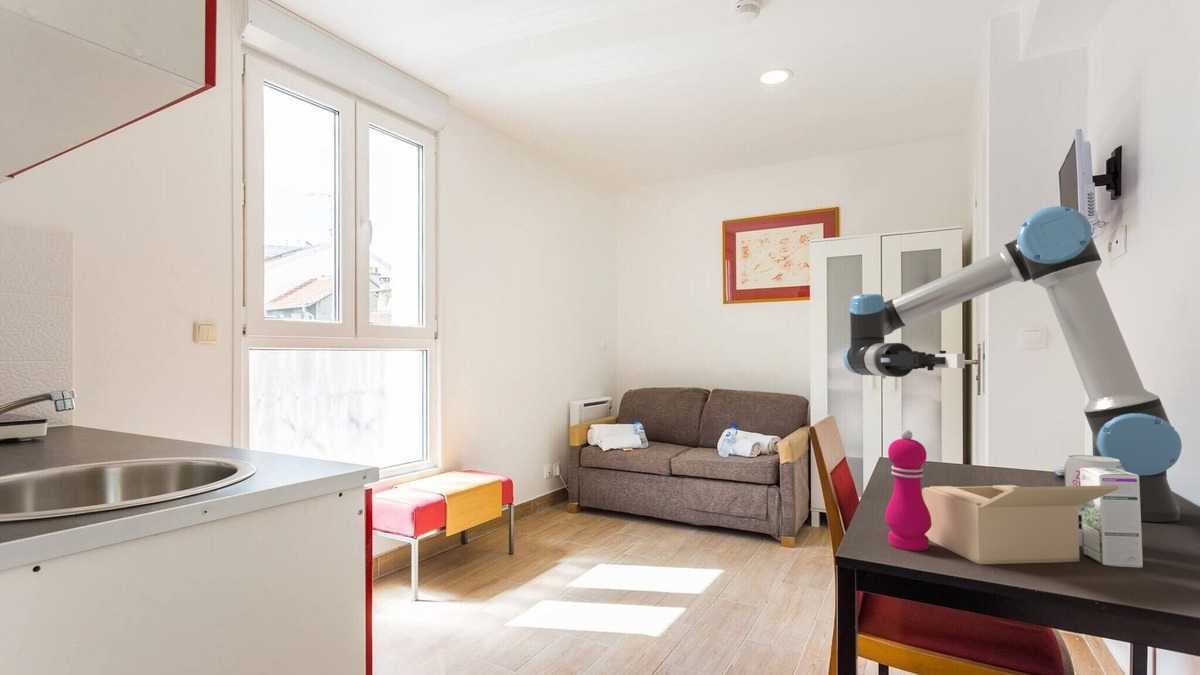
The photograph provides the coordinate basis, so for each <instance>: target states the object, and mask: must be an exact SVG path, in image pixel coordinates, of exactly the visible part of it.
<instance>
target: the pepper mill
mask: <svg viewBox="0 0 1200 675" xmlns="http://www.w3.org/2000/svg"><path fill="white" fill-rule="evenodd" d="M900 436H901V438H899V439H896V440H893V441H892V442H891V443H890V445H889V447H888V448H887V449H888V450H887V455H888V459H889V460H890V461H891V462H892V466H891V474H892V475H893V476H894V477H893V478H894V483H893V485H894V487H893V488H894V489H893V493H892V495H891V497H890V499H889V502H888V504H887V507H886V509H885V514H884V520H885V523H886V525H887V526H888V527H889V529H890V531H889V532H888V536H887V537H888V540H887V541H888V544H889V545H890V546H892V547H894V548H896V549H900V550H906V551H914V552H920V551H921V552H922V551H926V550H928V549H929V547H930V544H929V543H930V542H929V541H930V540H929V538H928V537H927V536H926V535H925V533H926V532H927V531H928V530H929V529H930V528H931V525H932V523H931V516H930V513H929V510H928V508H927V506H926V504H925V502H924V499H923V497H922V488H921V481H922V478H923V477H924V473H923V472H924V468H923V467H922V466H923V464H924V463H925V462H926V461H927V451H926V448H925V446H924V445H923V444H922V443H921V442H919V441H918V440H915V439H912V438H913V433H912V431H911V430H908V429H904V430H902V431H901V434H900Z"/></svg>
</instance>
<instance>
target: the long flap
mask: <svg viewBox="0 0 1200 675" xmlns="http://www.w3.org/2000/svg"><path fill="white" fill-rule="evenodd" d="M1118 489H1119V487H1118V485H1112V486H1065V485H1064V486H1061V485H1060V486H1058V485H1056V486H1054V485H1053V486H1018V487H1012V488H1010V489H1008V490H1006V491H1005V492H1003V493H1001V494H999V495H997V496H995V497H993V498H991V499H990V500H988V501H986V502H984V503H982V504H980V505H981V507H982V508H985V507H1036V506H1080V505H1083V504H1085V503H1087V502H1090V501H1092V500H1094V499H1097V498H1099V497H1101V496H1104V495H1106V494H1108V493H1111V492H1113V491H1115V490H1118Z"/></svg>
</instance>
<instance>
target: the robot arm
mask: <svg viewBox="0 0 1200 675" xmlns="http://www.w3.org/2000/svg"><path fill="white" fill-rule="evenodd" d="M1092 233H1093V232H1092V226H1091V223H1090V221H1089V219H1088V218H1087V217H1086V216H1085V215H1084V214H1082V213H1081V212H1080V211H1078V210H1077V209H1074V208H1071V207H1068V206H1060V205H1059V206H1049V207H1045V208H1041V209H1039V210H1037V211H1035V212H1034V213H1031V215H1029V216H1028V217H1027V218H1026V219H1025V220H1024V222H1022V224H1021V226H1020V227H1019V229H1018V231H1017V236H1016V239H1014V240H1012V241H1010V242H1008V243H1005V244H1003V245H1002V247H1001V249H1000V250H999V251H998V252H996V253H994V254H991V255H989V256H986V257H984V258H981V259H980V260H978V261H975V262H974V263H970V264H968V265H967V266H964V267H961V268H959V269H957V270H954V271H953V272H950V273H949V274H946V275H943V276H941V277H939V278H937V279H935V280H932V281H930V282H927V283H925V284H923V285H920V286H919V287H916V288H913V289H911V290H910V291H907V292H905V293H903V294H901V295H898V296H896V297H893V298H892V299H888V300H887V301H886V300H885V298H884V296H883V295H882V294H878V293H877V294H876V293H869V294H868V293H867V294H866V293H864V294H863V293H862V294H855V295H853V296H851V298H850V302H849V303H850V304H849V305H850V307H849V312H850V313H849V314H850V315H849V318H850V341H849V342H850V346H849V347H847V348H846V349H845V351H844V354H843V357H842V358H843V364H844V365H845V368H846V369H847V370H848V371H849V372H850V373H853V374H858V375H861V376H875V377H876V376H878V377H880V378H881V379H886V377H890V378H891V377H892V378H893V377H894V378H902V377H905V376H908V375H909V374H910V373H912V371H913V370H919V369H927V371H934V368H940V369H942V368H943V369H944V368H945V369H966V368H965V367H966V363H965V362H966V361H965V355H966V354H965V353H947V351H946V350H939V353H934V354H932V353H926V352H925V351H918V350H913V349H912V348H911V347H910V346H908V345H907V344H905V343H900V342H885V340H886V338H885V336H887V335H888V336H889V335H890V334H892V333H894V331H896V330H898V329H901V328H904V327H905V326H907V325H910V324H913V323H914V322H918V321H920V320H922V319H925V318H928V317H930V316H933V315H935V314H938V313H940V312H942V311H944V310H947V309H949V308H952V307H955V306H957V305H959V304H961V303H965V302H966V301H970V300H971V299H974V298H977V297H979V296H981V295H984V294H986V293H989V292H991V291H994V290H997V289H999V288H1001V287H1003V286H1006V285H1008V284H1011V283H1014V282H1020V283H1026V282H1028V281H1030V280H1032V282H1033V283H1034V284H1035V285H1037V286H1041V287H1043V288H1044V289H1045V291H1046V293H1047V296H1048V297H1047V298H1049V301H1050V304H1051V307H1052V310H1053V312H1054V314H1055V317H1056V318H1057V322H1058V325H1059V327H1060V330H1061V332H1062V334H1063V337H1064V339H1065V342H1066V344H1067V346H1068V350H1069V352H1070V354H1071V357H1072V360H1073V362H1074V365H1075V368H1076V370H1077V372H1078V374H1079V375H1078V376H1079V377H1080V380H1081V383H1082V385H1083V387H1084V390H1085V392H1086V394H1087V397H1088V402H1087V404H1086V405H1085V407H1084V409H1083V413H1084V414H1085V417H1086V421H1087V423H1088V425H1089V429H1090V430H1091V434H1092V456H1101V457H1109V458H1114V459H1118V460H1120V463H1121V465H1122V466H1123V468H1124V469H1125V472H1129V473H1132V474H1136V475H1139V485H1140V510H1141V522H1149V523H1150V522H1151V523H1158V522H1159V523H1171V522H1173V523H1174V522H1177V521H1179V520H1180V519H1181V516H1180V515H1181V514H1180V513H1181V511H1180V507H1179V505H1178V504H1177V503H1176V501H1175V497H1174V494H1173V491H1172V489H1171V487H1170V484H1169V482H1168V476H1167V471H1168V470H1169V469H1170V468H1172V466H1173V467H1174V465H1175V464H1176V463H1177V462H1178V460H1179V458H1180V455H1181V453H1182V444H1183V443H1182V440H1181V436H1180V435H1179V433H1178V431H1177V430H1176V429H1175V427H1173V426H1172V424H1171V423H1170V420H1169V418H1168V415H1167V412H1166V411H1165V408H1164V406H1163V404H1162V402H1161V399H1160V396H1159V395H1157V394H1154V393H1152V392H1150V391H1148V390H1147V389H1145V387H1144V385H1143V382H1142V379H1141V378H1140V376H1139V373H1138V370H1137V368H1136V366H1135V363H1134V361H1133V358H1132V356H1131V354H1130V351H1129V348H1128V346H1127V344H1126V341H1125V339H1124V337H1123V334H1122V331H1121V329H1120V327H1119V324H1118V322H1117V319H1116V317H1115V315H1114V313H1113V310H1112V308H1111V305H1110V303H1109V300H1108V298H1107V296H1106V294H1105V291H1104V289H1103V287H1102V286H1103V285H1102V284H1101V281H1100V278H1099V276H1098V275H1097V271H1099V268H1100V267H1101V265H1102V263H1103V261H1102V257H1101V256H1100V253H1099V250H1098V249H1097V246H1096V243H1095V241H1094V239H1093V236H1092ZM926 367H927V368H926Z"/></svg>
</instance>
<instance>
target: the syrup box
mask: <svg viewBox="0 0 1200 675" xmlns="http://www.w3.org/2000/svg"><path fill="white" fill-rule="evenodd" d="M1112 485H1118V487H1119V489H1118V490H1115V491H1113V492H1111V493H1108V494H1106V495H1104V496H1101V497H1099V498H1097V499H1094V500H1092V501H1090V502H1087V503H1085V504H1083V505H1081V517H1082V543H1083V547H1082V554H1083V555H1085V556H1087V557H1089V558H1090V559H1092V560H1094V561H1095V562H1097V563H1099V564H1100V565H1104V566H1110V567H1122V568H1124V567H1125V568H1140V569H1141V568H1143V565H1144V564H1143V562H1144V561H1143V560H1144V559H1143V542H1142V541H1143V536H1142V535H1143V534H1142V533H1143V532H1142V521H1141V510H1140V485H1139V475H1136V474H1132V473H1129V472H1125V471H1122V470H1118V469H1114V468H1102V467H1091V468H1080V486H1112Z"/></svg>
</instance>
